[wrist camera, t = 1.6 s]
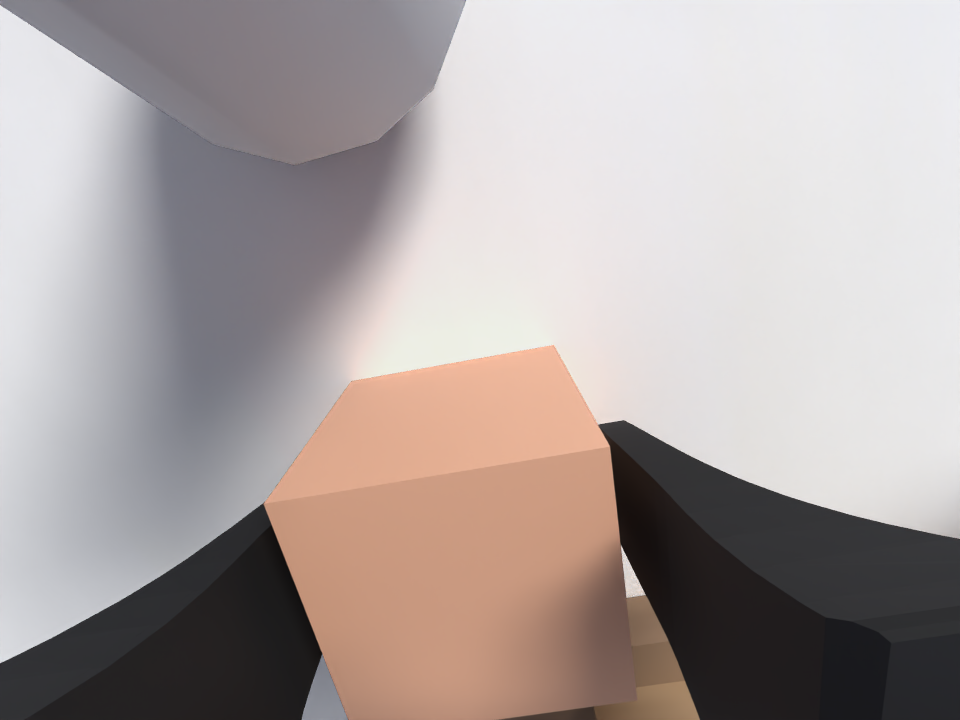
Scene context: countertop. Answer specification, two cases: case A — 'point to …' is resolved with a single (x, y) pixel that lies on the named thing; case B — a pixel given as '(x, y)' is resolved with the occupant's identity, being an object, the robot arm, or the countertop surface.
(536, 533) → the cube
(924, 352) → the countertop surface
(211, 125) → the salt shaker
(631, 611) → the base
